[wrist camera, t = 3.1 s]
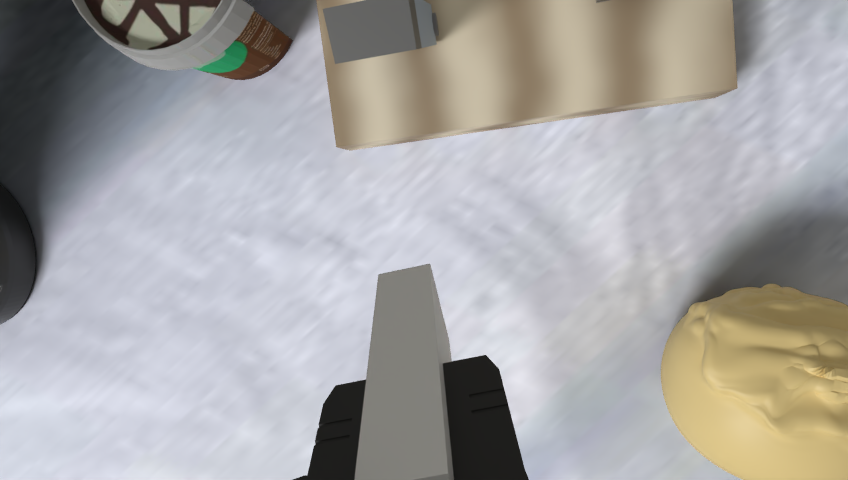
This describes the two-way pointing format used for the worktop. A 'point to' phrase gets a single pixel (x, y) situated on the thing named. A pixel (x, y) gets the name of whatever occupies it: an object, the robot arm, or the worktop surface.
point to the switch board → (531, 66)
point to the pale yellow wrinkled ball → (762, 383)
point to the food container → (189, 34)
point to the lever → (379, 28)
